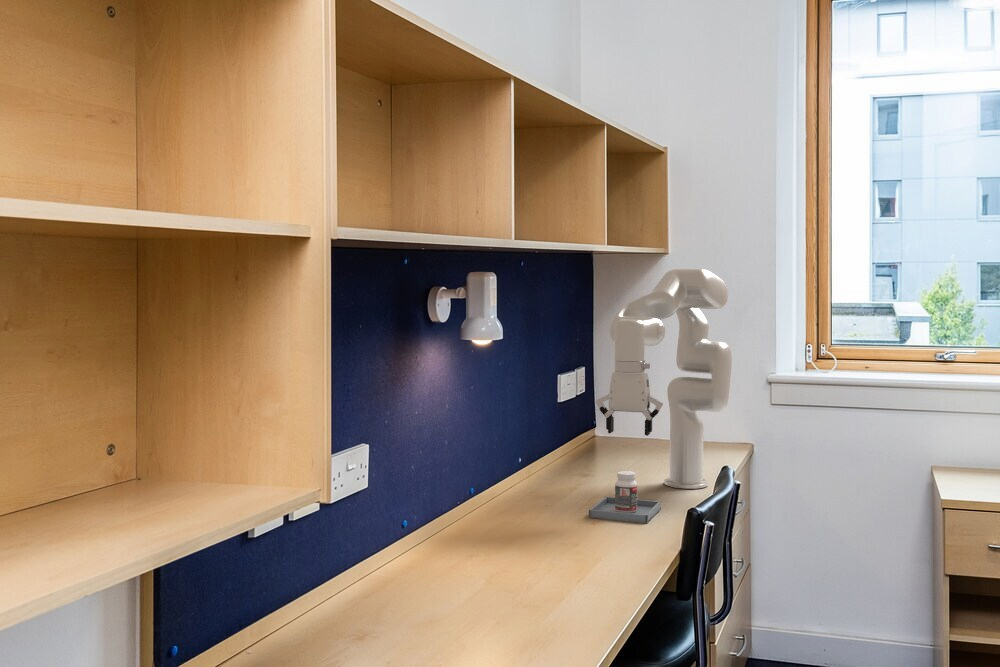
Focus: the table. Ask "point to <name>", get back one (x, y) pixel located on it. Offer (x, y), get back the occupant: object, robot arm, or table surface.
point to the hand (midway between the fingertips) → (629, 433)
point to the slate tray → (608, 512)
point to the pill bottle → (626, 492)
